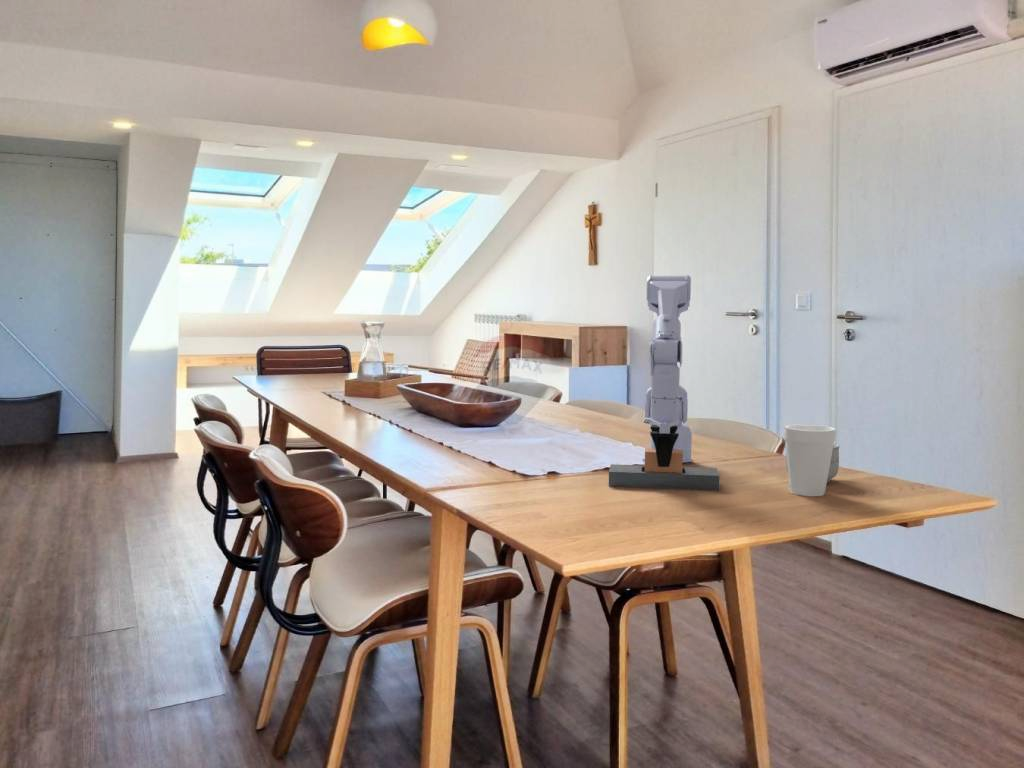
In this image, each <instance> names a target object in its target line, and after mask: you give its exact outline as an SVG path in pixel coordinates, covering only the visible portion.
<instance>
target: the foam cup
mask: <svg viewBox="0 0 1024 768" xmlns="http://www.w3.org/2000/svg"><path fill="white" fill-rule="evenodd" d="M783 431H784V432H783V439H785V445H786V448H785V453H786V452H787V462H788V471H787V473H788V472H789V473H788V480H789V481H788V482H789V488H790V492H791V493H792V494H794V495H797V496H805V497H821V496H824V495H825V493H826V492H825V491H826V490H827V489H826V488H827V483H828V482H827V478H828V472H829V467H830V461H831V456H832V450H833V445H834V444H835V442H836V436H837V435H836V431H837V429H836V428H835V427H833V426H827V425H819V424H805V423H803V424H802V423H801V424H798V423H797V424H796V423H795V424H787V425H785V426H784V430H783Z"/></svg>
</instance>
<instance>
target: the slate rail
mask: <svg viewBox="0 0 1024 768" xmlns="http://www.w3.org/2000/svg"><path fill="white" fill-rule="evenodd" d="M609 466H610V467H609V471H608V487H624V488H645V489H646V488H647V489H671V490H672V489H673V490H675V489H676V490H694V491H695V490H696V491H699V490H700V491H716V492H717V491H720V473H719V471H718V468H716V467H699V466H698V467H695V466H694V467H692V466H691V467H690V466H683V469H682V473H676V472H656V471H651V472H645V464H643V465H642V464H641V465H638V464H637V465H636V464H616V463H615V464H613V463H612V464H610V465H609Z"/></svg>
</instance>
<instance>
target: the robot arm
mask: <svg viewBox="0 0 1024 768" xmlns="http://www.w3.org/2000/svg"><path fill="white" fill-rule="evenodd" d="M646 279H647V280H646V301H647V306H648V310H649V311H652V312H653V313H656V316H657V317H656V318H655V320H654V321H653V325H652V326H653V327H652V341H650V342H649V356H648V357H649V367H650V376H651V378H650V387H649V388H647V390H646V394H645V401H644V402H645V404H644V422H645V423H649V425H650V432H649V435H650V436H649V437H650V438H649V439H650V443H649V449H656V455H657V462H658V466H659V467H669V465H670V461H671V456H672V451H673V449H675V450H682V451H683V463H691V462H692V463H693V462H694V459H693V458H692V444H693V443H692V442H693V441H692V439H693V438H692V437H693V436H692V431H691V429H690V426H688V425H687V424H686V423H687V422H688V408H689V407H688V406H689V405H688V402H689V399H688V392H687V390H686V389H685V388H684V387H683V386H682V385H680V378H681V377H680V371H681V367H682V364H683V341H682V336H681V332H682V331H681V329H682V328H681V327H682V326H681V323H682V322H681V321H680V319H679V318H680V316H681V314H682V313H685V312H686V311H688V310H689V307H690V303H691V287H692V283H691V282H692V278H691V276H690V275H689V274H686V275H653V274H650V275H649V276H647V278H646ZM678 363H679V366H678ZM641 460H643V461H645V457H641Z"/></svg>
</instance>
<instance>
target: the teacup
mask: <svg viewBox="0 0 1024 768" xmlns="http://www.w3.org/2000/svg"><path fill="white" fill-rule="evenodd" d="M784 448H785V449H786V444H785V445H784ZM840 448H841V446H840V445H839V444H837V443H834V445H833V450H832V456H831V461H830V467H829V472H828V478H827V483H829V482H830V481H831V480H832V479H833V478H835V477H836V476H837V475H838V472H839V467H840V451H839V450H840ZM785 466H786V471H787V473H788V474H789V472H788V462H787V452H786V451H785Z"/></svg>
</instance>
